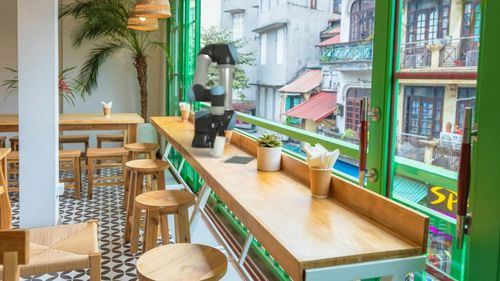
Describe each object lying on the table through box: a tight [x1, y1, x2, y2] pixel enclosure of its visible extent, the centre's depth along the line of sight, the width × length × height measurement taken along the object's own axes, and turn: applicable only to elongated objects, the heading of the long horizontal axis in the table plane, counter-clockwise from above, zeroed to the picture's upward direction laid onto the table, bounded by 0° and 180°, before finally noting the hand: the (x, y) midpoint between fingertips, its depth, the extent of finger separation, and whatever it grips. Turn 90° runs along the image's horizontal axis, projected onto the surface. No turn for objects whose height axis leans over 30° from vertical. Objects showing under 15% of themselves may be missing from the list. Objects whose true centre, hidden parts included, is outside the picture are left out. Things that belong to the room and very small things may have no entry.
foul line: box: [220, 154, 235, 163], centre depth 249 cm, size 18×1×1 cm, turn 164°
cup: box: [208, 135, 227, 159], centre depth 254 cm, size 10×10×11 cm
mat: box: [223, 155, 256, 165], centre depth 246 cm, size 18×12×1 cm, turn 164°
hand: (217, 152), depth 254 cm, fingers open, 13 cm apart
